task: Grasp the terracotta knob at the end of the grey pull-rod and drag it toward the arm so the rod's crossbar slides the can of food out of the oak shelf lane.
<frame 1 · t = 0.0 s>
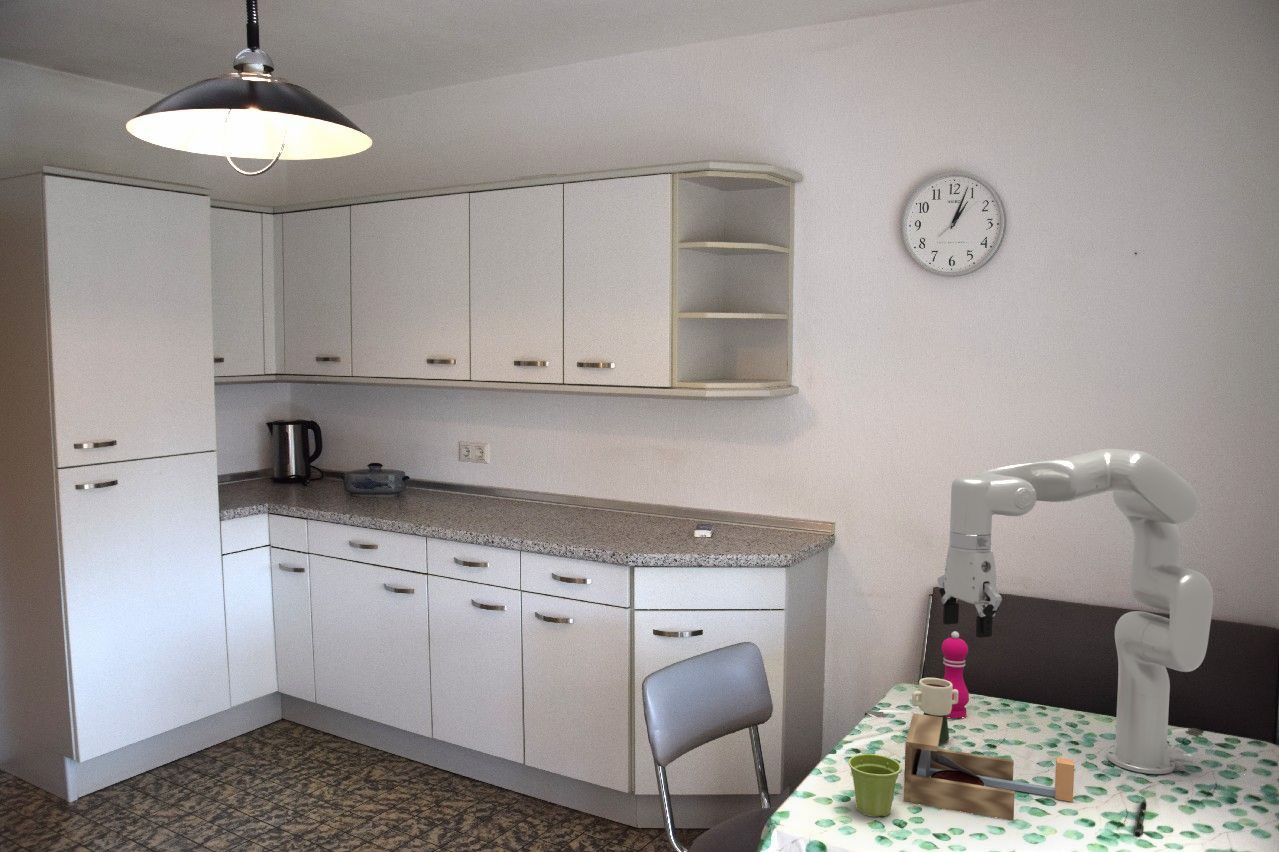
hand: (966, 630, 181), 31 cm above the table, tool pointing down, fingers open, 9 cm apart
plant pot: (873, 811, 173), on the table
canned food: (956, 796, 180), on the table
pull rod: (995, 779, 178), point 4 cm above the table, slide at 0.0 cm
pepper mill: (952, 715, 224), on the table
character mug: (933, 741, 207), on the table
shelf lane: (962, 793, 180), on the table
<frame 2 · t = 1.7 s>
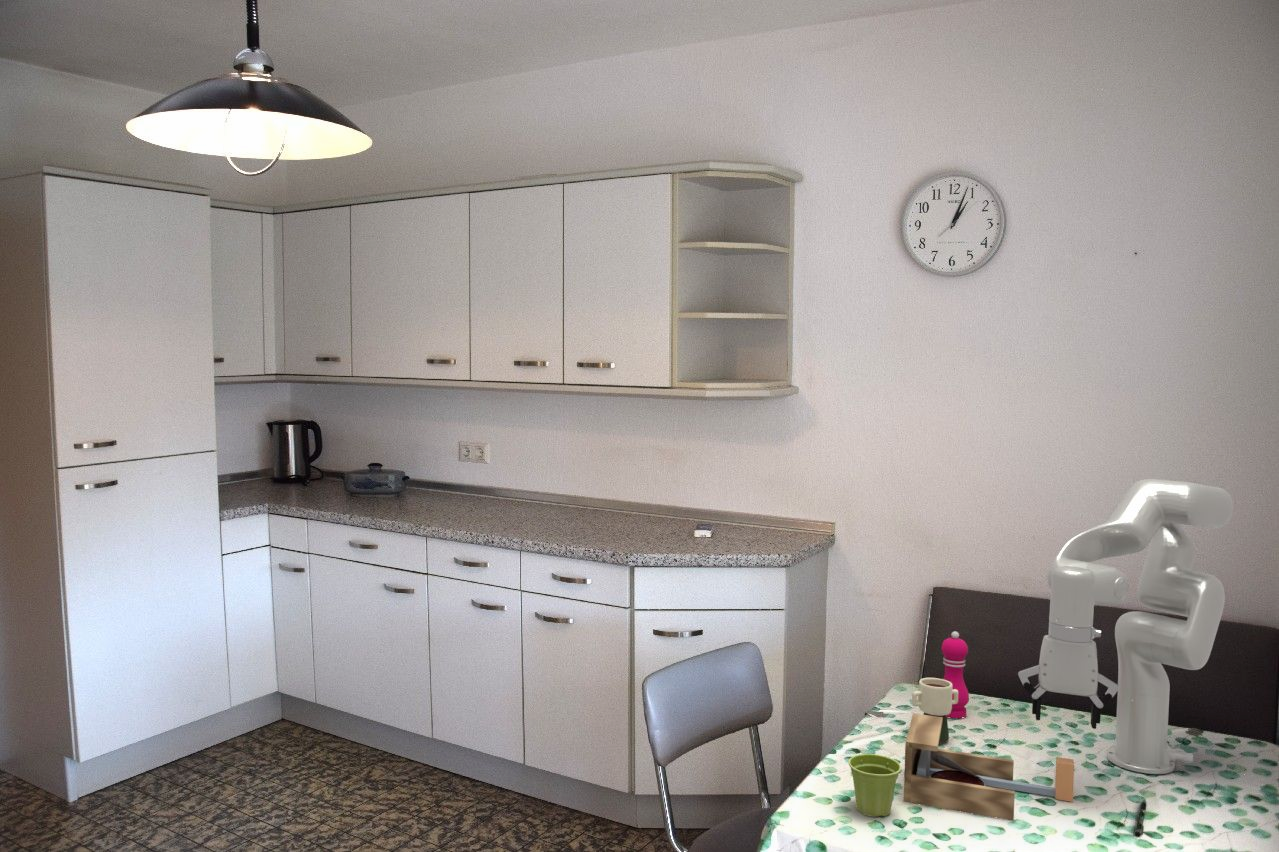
hand: (1065, 722, 178), 15 cm above the table, tool pointing down, fingers open, 9 cm apart
nothing on the table moved.
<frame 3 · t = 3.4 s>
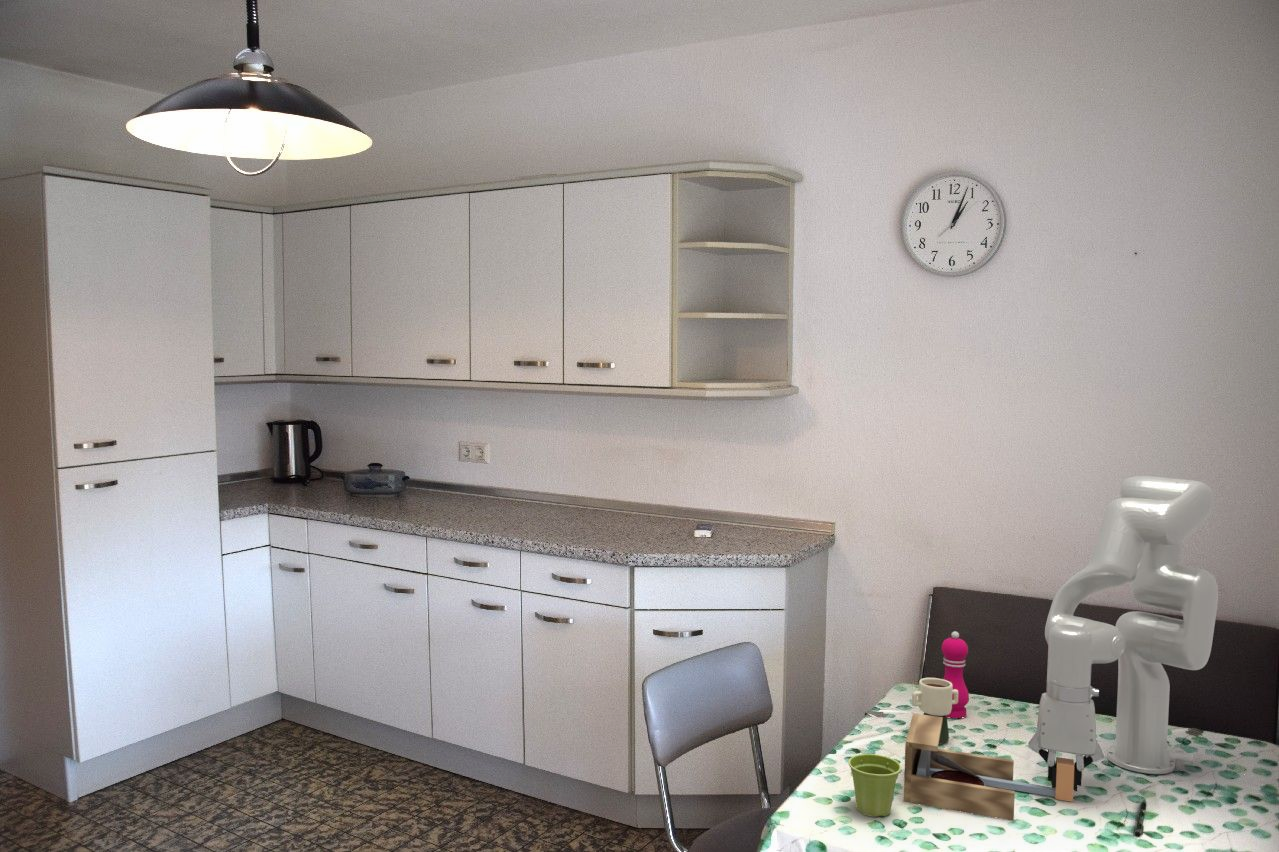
hand: (1064, 785, 179), 2 cm above the table, tool pointing down, fingers closed on pull rod, 3 cm apart
pull rod: (995, 779, 178), point 4 cm above the table, slide at 0.0 cm, touching gripper
everything else where it was.
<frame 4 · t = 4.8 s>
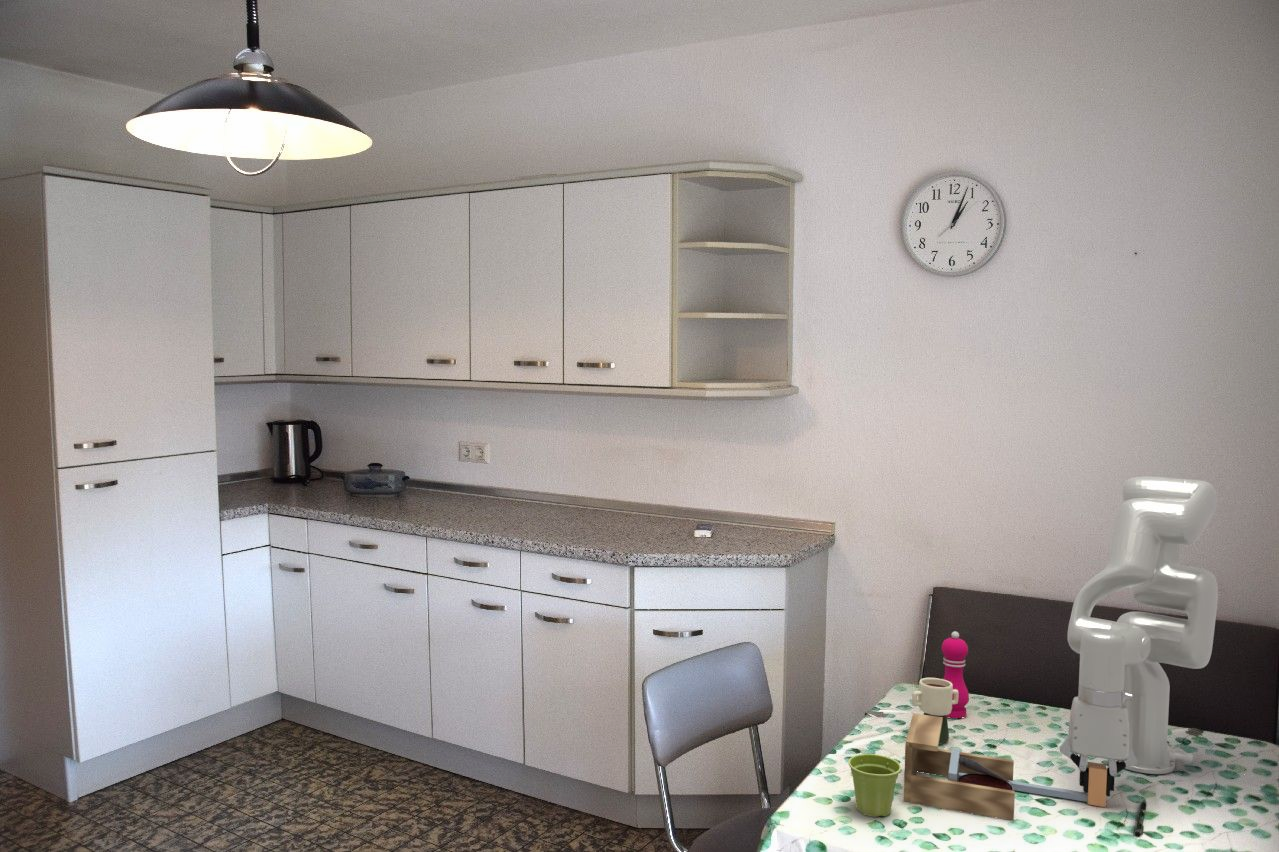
hand: (1096, 790, 177), 2 cm above the table, tool pointing down, fingers closed on pull rod, 3 cm apart
canned food: (984, 800, 178), on the table
pull rod: (1026, 784, 176), point 4 cm above the table, slide at 5.5 cm, touching gripper
everything else where it was.
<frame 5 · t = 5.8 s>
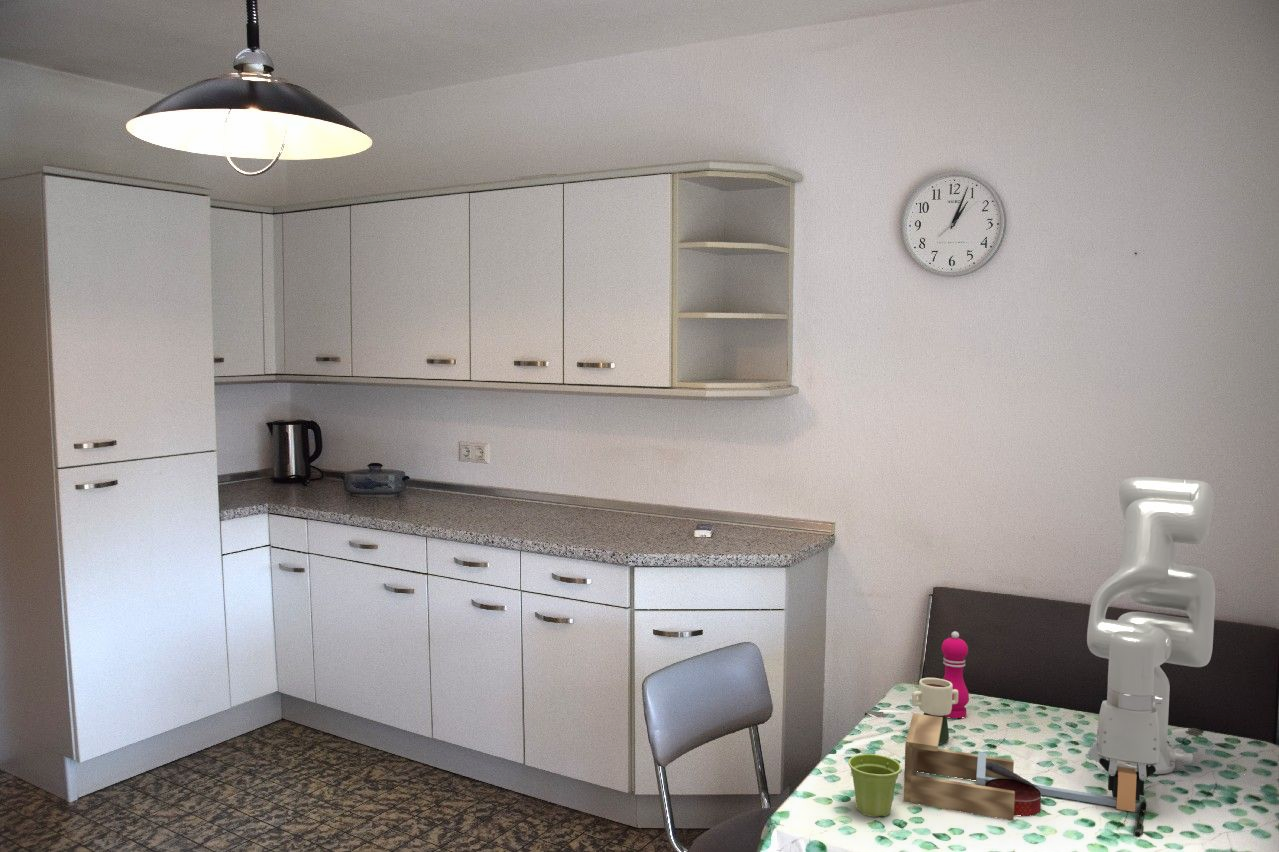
hand: (1125, 795, 175), 2 cm above the table, tool pointing down, fingers closed on pull rod, 3 cm apart
canned food: (1012, 805, 176), on the table, touching pull rod
pull rod: (1055, 788, 175), point 4 cm above the table, slide at 10.4 cm, touching canned food, gripper
everything else where it was.
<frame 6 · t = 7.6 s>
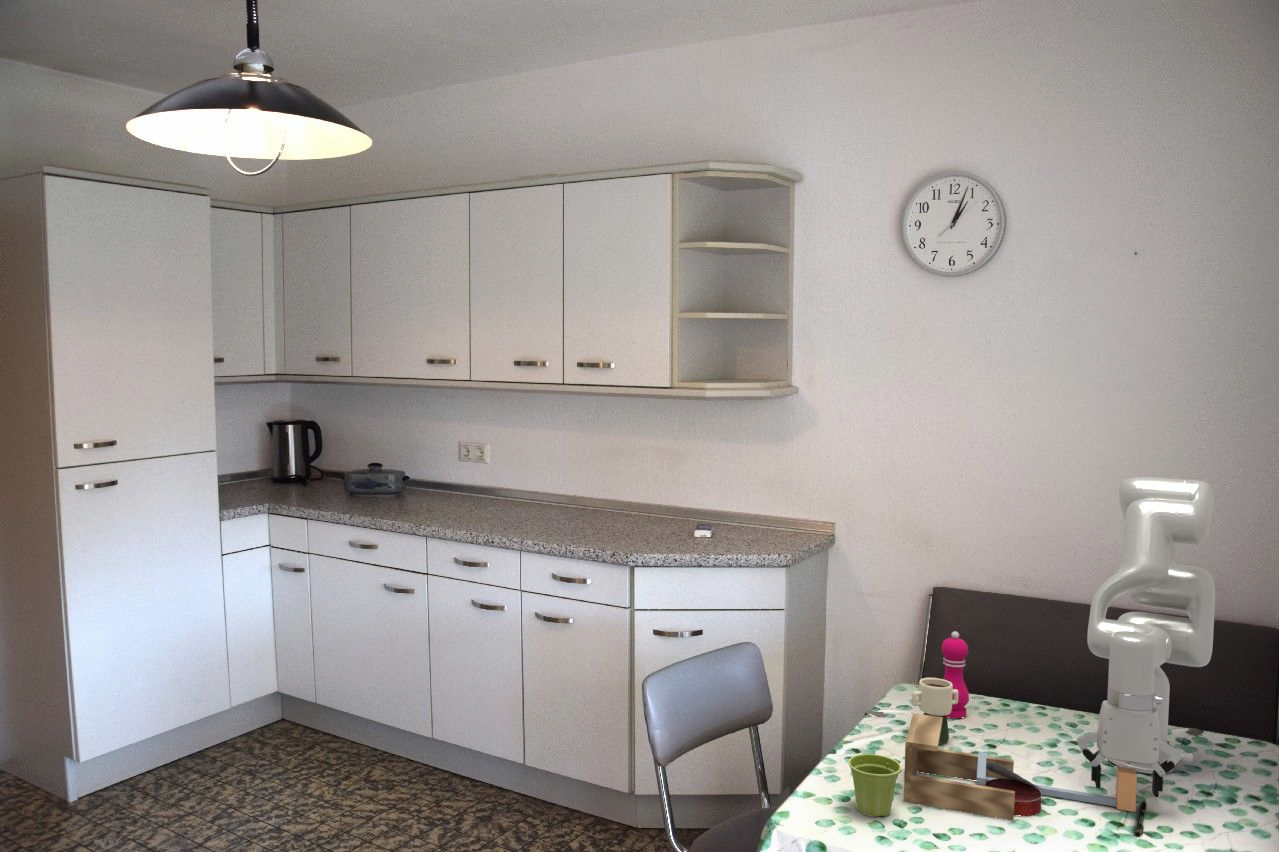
hand: (1126, 789, 175), 4 cm above the table, tool pointing down, fingers open, 9 cm apart
canned food: (1012, 806, 176), on the table
pull rod: (1055, 788, 175), point 4 cm above the table, slide at 10.5 cm
everything else where it was.
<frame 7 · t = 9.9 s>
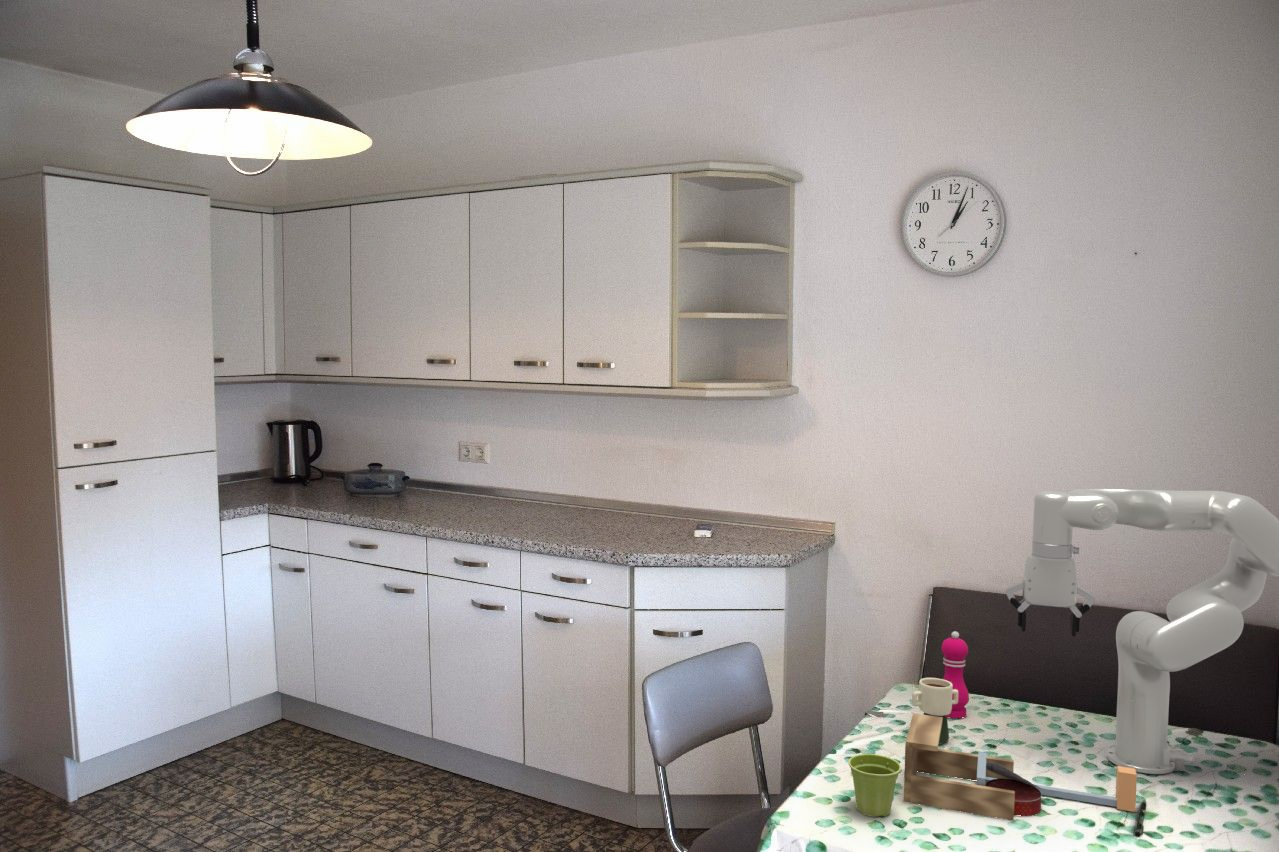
hand: (1047, 632, 196), 27 cm above the table, tool pointing down, fingers open, 9 cm apart
nothing on the table moved.
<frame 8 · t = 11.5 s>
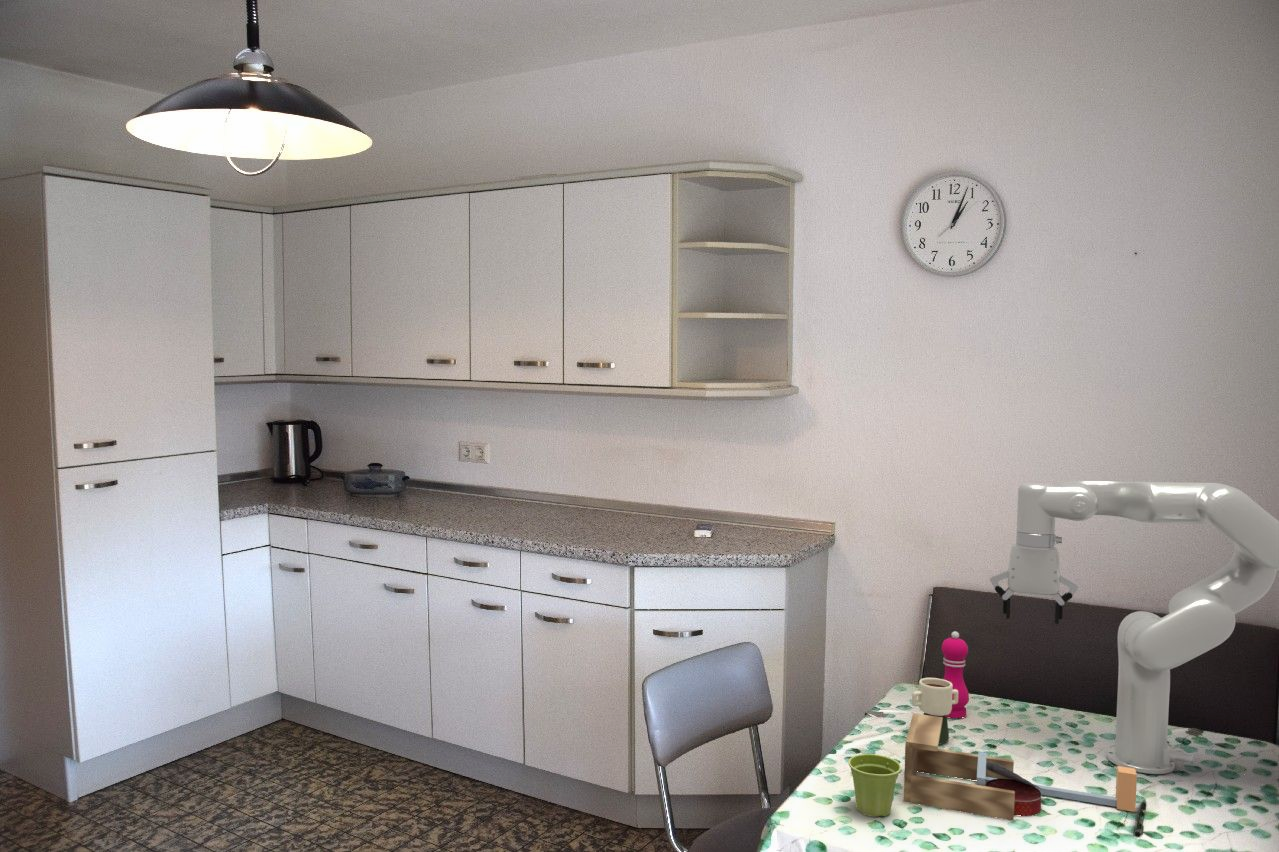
hand: (1031, 619, 202), 28 cm above the table, tool pointing down, fingers open, 9 cm apart
nothing on the table moved.
at the end: canned food inside the target area (5.1 cm from its centre), on the table; pull rod slide at 10.5 cm; canned food tilted 0° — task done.
